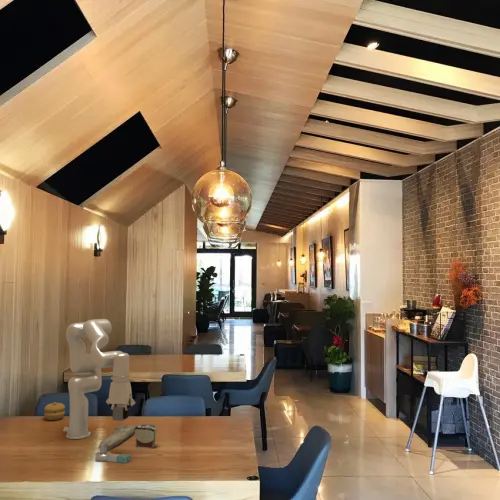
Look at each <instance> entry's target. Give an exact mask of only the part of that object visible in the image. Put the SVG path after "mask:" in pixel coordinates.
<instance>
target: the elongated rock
mask: <svg viewBox="0 0 500 500" xmlns="http://www.w3.org/2000/svg"><path fill="white" fill-rule="evenodd" d="M135 426H136V425H132V424H129V425H128V424H127V425H125V424H121V425H119V424H118V425H116V426H115V427H114V431H113V433H112V434H110V435H109V436H107V438H105V439H103V440H102V441H100V442H99V445H98V448H99V449H100V444H101V443H107V451H110V450H111V449H113V448H115V447H116V446H117V447H118V445H120V444H122V443H123V442H125V441H127V439H128V438H130V437H131V436H132V435H133V434H134V435H135V430H134V427H135Z"/></svg>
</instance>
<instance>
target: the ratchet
mask: <svg viewBox="0 0 500 500" xmlns="http://www.w3.org/2000/svg"><path fill="white" fill-rule="evenodd" d="M99 445H100V448H99V451H98V452H96V453H95V455H94V456H95V457H94V458H95V462H97V463H99V462H100V463H102V462H103V463H104V462H110V463H111V462H112V463H120V464H127V463H129V462H130V461H131V460H132V456H131V455H132V454H127V453H120V454H119V453H118V454H117V453H112V451H110V450H107V443H101V444H100V443H99Z"/></svg>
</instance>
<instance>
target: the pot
mask: <svg viewBox="0 0 500 500" xmlns="http://www.w3.org/2000/svg"><path fill="white" fill-rule="evenodd" d="M65 409H66V406H65V404H64V403H62V402H55V401H54V402H52V403H48V404H47V405H45V407H44V409H43V410H44V413H43V415H44V418H45V419H46V420H49V421H57V420H60V419H62V418H63V417H64V416H65V414H66V410H65Z"/></svg>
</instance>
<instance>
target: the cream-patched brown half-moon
mask: <svg viewBox="0 0 500 500" xmlns="http://www.w3.org/2000/svg"><path fill="white" fill-rule="evenodd" d="M134 426H135V427H134V430H135V432H134V436H135V437H134V438H135V446H136V447H137V448H145V449H152V450H153V449H154V448H155V443H156V436H157V435H156V433H157V431H158V427H157V425H156V424H153V423H140V424H137V425H134Z"/></svg>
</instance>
